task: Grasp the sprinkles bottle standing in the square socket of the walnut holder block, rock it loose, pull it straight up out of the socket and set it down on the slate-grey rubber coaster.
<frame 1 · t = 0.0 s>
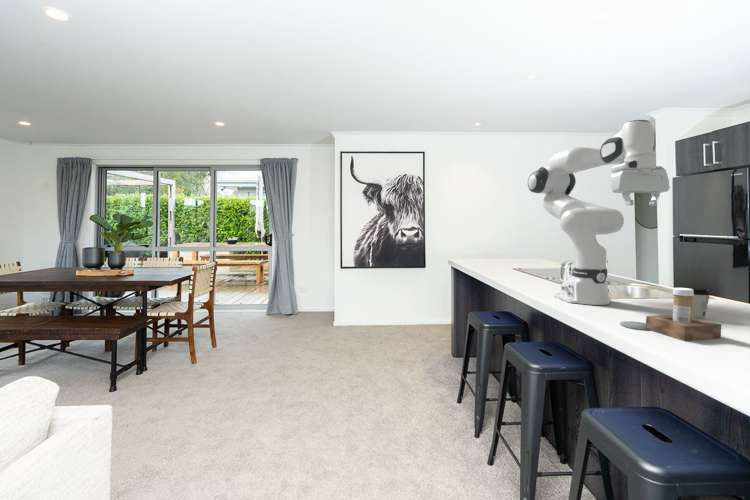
hand: (641, 205, 126), 39 cm above the table, tool pointing down, fingers open, 8 cm apart
coaster: (637, 326, 115), on the table
coffee cup: (695, 318, 125), on the table
holder block: (681, 333, 107), on the table
sprinkles bottle: (681, 334, 107), resting in holder block
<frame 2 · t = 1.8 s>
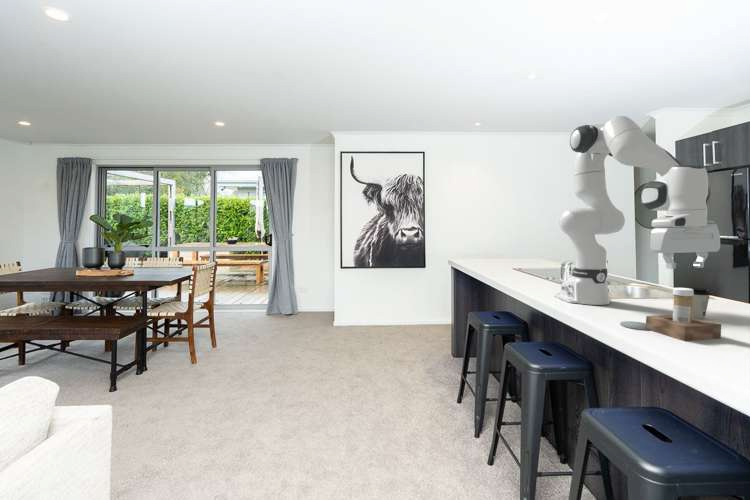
hand: (684, 268, 106), 19 cm above the table, tool pointing down, fingers open, 8 cm apart
nothing on the table moved.
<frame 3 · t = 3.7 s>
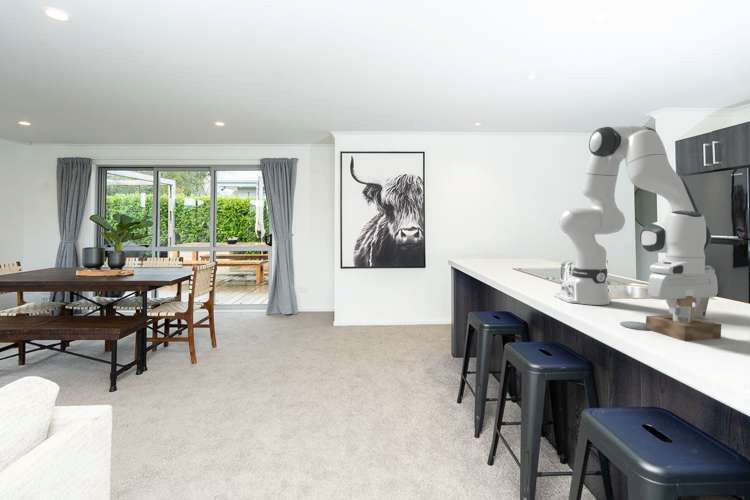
hand: (682, 313, 107), 6 cm above the table, tool pointing down, fingers closed on sprinkles bottle, 4 cm apart
sprinkles bottle: (681, 334, 107), resting in holder block, touching gripper
everything else where it was.
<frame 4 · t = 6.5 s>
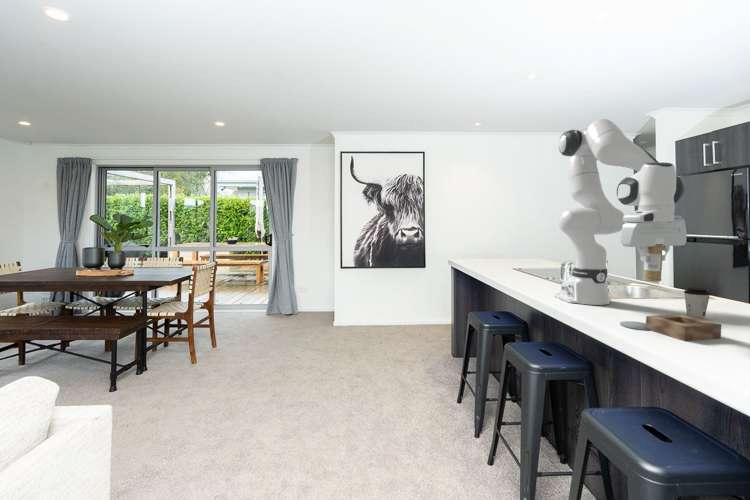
hand: (652, 260, 112), 21 cm above the table, tool pointing down, fingers closed on sprinkles bottle, 4 cm apart
sprinkles bottle: (651, 281, 112), point 15 cm above the table, touching gripper
everything else where it was.
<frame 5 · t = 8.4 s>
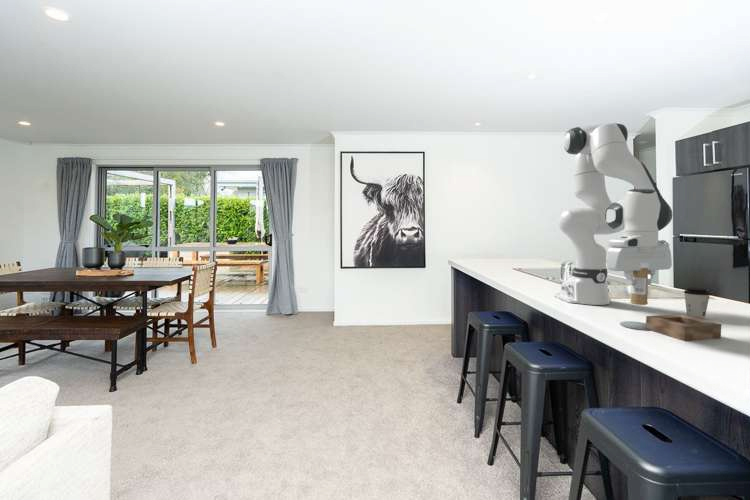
hand: (639, 284, 114), 13 cm above the table, tool pointing down, fingers closed on sprinkles bottle, 4 cm apart
sprinkles bottle: (638, 304, 115), point 7 cm above the table, touching gripper
everything else where it was.
when the fingers open (8 cm above the table, at t = 9.8 s): sprinkles bottle drops 1 cm, resting on coaster.
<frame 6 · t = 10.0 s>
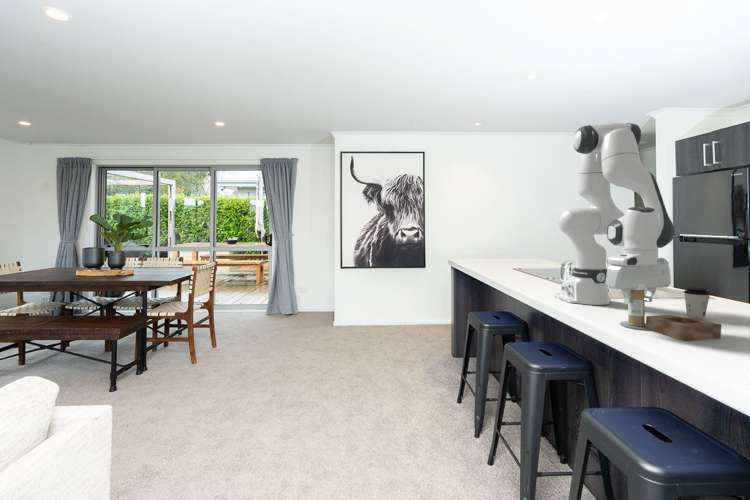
hand: (638, 302, 115), 8 cm above the table, tool pointing down, fingers open, 6 cm apart
sprinkles bottle: (636, 325, 115), resting on coaster, touching gripper
everything else where it was.
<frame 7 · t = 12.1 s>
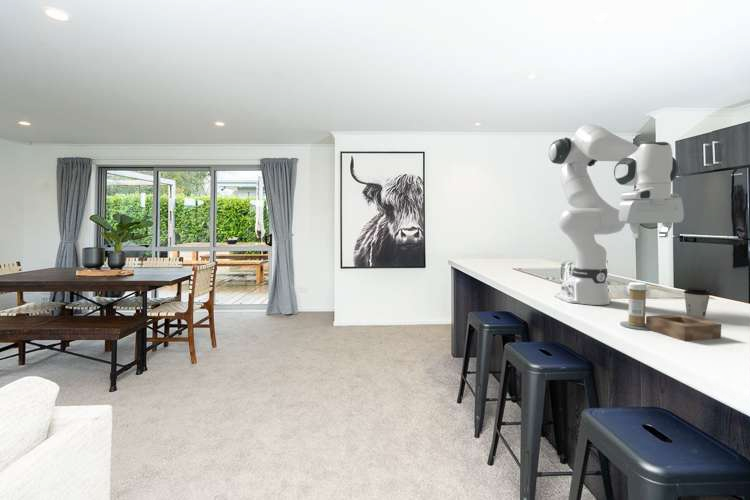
hand: (650, 237, 116), 28 cm above the table, tool pointing down, fingers open, 8 cm apart
sprinkles bottle: (636, 325, 115), resting on coaster
everything else where it was.
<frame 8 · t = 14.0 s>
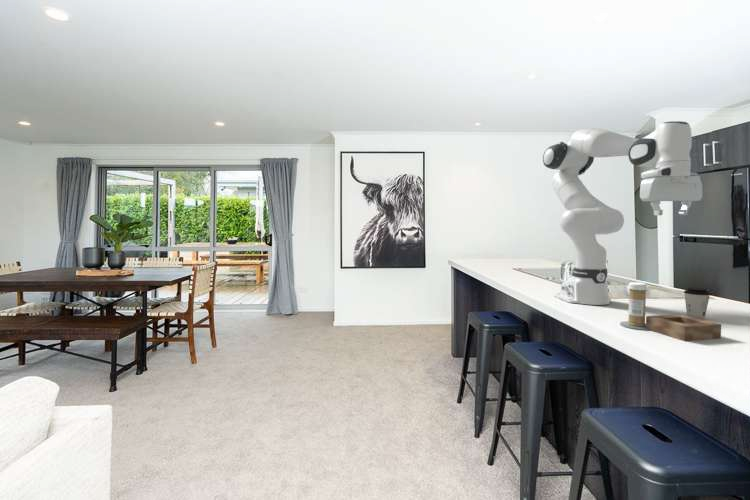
hand: (670, 215, 118), 35 cm above the table, tool pointing down, fingers open, 8 cm apart
nothing on the table moved.
at the end: sprinkles bottle 0.3 cm from the coaster (horizontally); sprinkles bottle tilted 0°; sprinkles bottle resting on coaster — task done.
